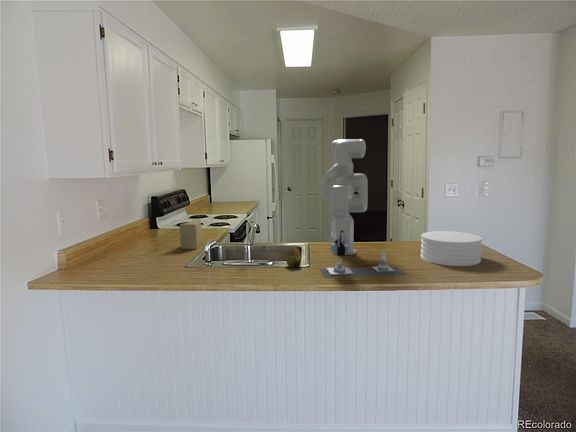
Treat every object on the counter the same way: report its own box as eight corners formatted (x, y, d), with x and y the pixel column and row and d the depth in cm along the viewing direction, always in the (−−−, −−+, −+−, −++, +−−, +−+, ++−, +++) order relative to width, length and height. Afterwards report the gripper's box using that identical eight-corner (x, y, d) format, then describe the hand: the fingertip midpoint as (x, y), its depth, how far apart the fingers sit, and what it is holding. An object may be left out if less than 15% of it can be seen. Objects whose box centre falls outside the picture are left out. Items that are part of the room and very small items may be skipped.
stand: (371, 268, 183) (372, 251, 182) (388, 267, 184) (389, 250, 183) (377, 273, 175) (377, 255, 174) (394, 272, 176) (395, 254, 175)
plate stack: (463, 269, 181) (464, 245, 179) (409, 258, 202) (410, 236, 200) (491, 259, 198) (492, 236, 197) (438, 249, 220) (439, 229, 218)
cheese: (193, 241, 252) (192, 217, 250) (208, 241, 251) (207, 217, 249) (180, 249, 230) (178, 223, 228) (196, 249, 229) (195, 223, 227)
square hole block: (330, 251, 179) (330, 243, 179) (344, 250, 180) (344, 243, 179) (333, 254, 173) (333, 246, 172) (348, 254, 173) (348, 246, 173)
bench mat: (319, 270, 183) (319, 269, 183) (396, 267, 186) (396, 266, 186) (324, 278, 170) (324, 278, 170) (406, 275, 173) (406, 274, 173)
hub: (326, 269, 182) (326, 257, 182) (347, 268, 183) (347, 256, 182) (330, 276, 173) (330, 263, 172) (353, 275, 174) (353, 262, 173)
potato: (282, 269, 186) (282, 252, 184) (287, 262, 198) (287, 246, 197) (300, 269, 184) (300, 253, 183) (303, 262, 197) (303, 246, 196)
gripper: (327, 211, 182) (327, 250, 185) (335, 216, 165) (335, 258, 167) (343, 211, 183) (343, 249, 185) (353, 216, 166) (352, 258, 168)
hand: (339, 253), depth 176 cm, fingers closed on square hole block, 6 cm apart
